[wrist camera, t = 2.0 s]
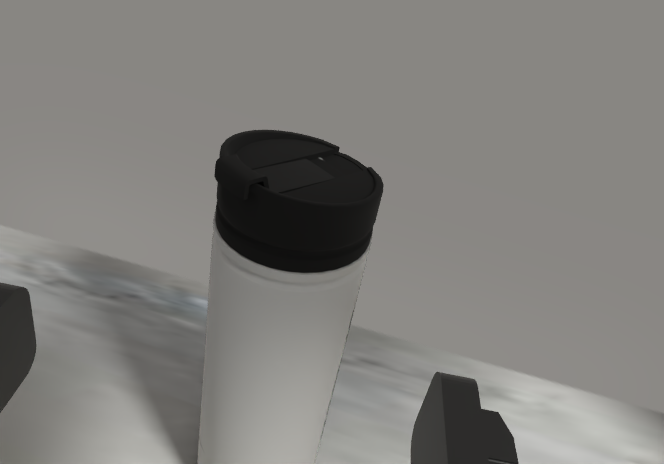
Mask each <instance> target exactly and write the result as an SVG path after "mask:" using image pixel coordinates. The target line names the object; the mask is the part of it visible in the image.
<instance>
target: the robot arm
mask: <svg viewBox="0 0 664 464" xmlns="http://www.w3.org/2000/svg"><path fill="white" fill-rule="evenodd" d="M35 353H36V338H35V331H34V324H33V316H32V309H31V302H30V295H29V292H28V290H27V289H26V288H24V287H19V286H14V285H9V284H4V283H0V413H1V411H2V410H3V408H4V407H5V406H6V404H7V403H8V401H9V400H10V398H11V397H12V396H13V394H14V393H15V391H16V390H17V389H18V387H19V386H20V384H21V383H22V381H23V380H24V379H25V377H26V376H27V374H28V372H29V370H30V368H31V366H32V363H33V361H34V357H35ZM411 464H518V458H517V453H516V448H515V443H514V438H513V436H512V434H511V432H510V431H509V429H508V427H507V426H506V424H505V423H504V421H503V419H502V418H501V416H500V414H499V413H498V412H494V411H489V410H484V409H481V405H480V398H479V391H478V386H477V382H476V381H475V380H474V379H470V378H465V377H460V376H455V375H450V374H445V373H440V372H436V373H435V375H434V377H433V379H432V381H431V384H430V386H429V389H428V391H427V394H426V396H425V399H424V401H423V404H422V406H421V409H420V411H419V414H418V416H417V419H416V421H415V425H414V429H413V434H412V441H411Z"/></svg>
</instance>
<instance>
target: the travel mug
mask: <svg viewBox="0 0 664 464" xmlns="http://www.w3.org/2000/svg"><path fill="white" fill-rule="evenodd" d="M215 178H216V180H217V182H218V187H217V205H216V212H215V216H214V223H213V230H214V232H213V238H212V252H211V267H210V282H209V296H208V311H207V325H206V340H205V355H204V370H203V384H202V399H201V414H200V429H199V443H198V458H197V464H315V461H316V457H317V453H318V449H319V445H320V441H321V437H322V433H323V429H324V425H325V421H326V418H327V414H328V410H329V406H330V402H331V398H332V394H333V390H334V386H335V382H336V379H337V375H338V371H339V367H340V363H341V359H342V355H343V351H344V347H345V343H346V340H347V336H348V332H349V328H350V324H351V320H352V316H353V312H354V308H355V304H356V301H357V296H358V293H359V289H360V285H361V281H362V277H363V273H364V269H365V265H366V261H367V255H368V253H369V250H370V246H371V238H372V231H373V225H374V223H375V220H376V216H377V212H378V208H379V205H380V201H381V197H382V193H383V182H382V179H381V177H380V176H379V175H378V174H377V173H376V172H375V171H374V170H373V169H372V168H371V167H368V168H367V167H365V166H364V165H363V164H361V163H360V162H358V161H357V160H355V159H353V158H351V157H350V156H348V155H346V154H342V153H340V152H339V147H338V146H336V145H333V144H331V143H329V142H326V141H324V140H321V139H318V138H315V137H311V136H307V135H302V134H298V133H293V132H285V131H276V130H253V131H246V132H241V133H238V134H235V135H233V136H231V137H229V138H228V139H227V140H226V141H225V142H224V143H223V144H222V146H221V150H220V158H219V159H218V160H217V161H216V166H215Z"/></svg>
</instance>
